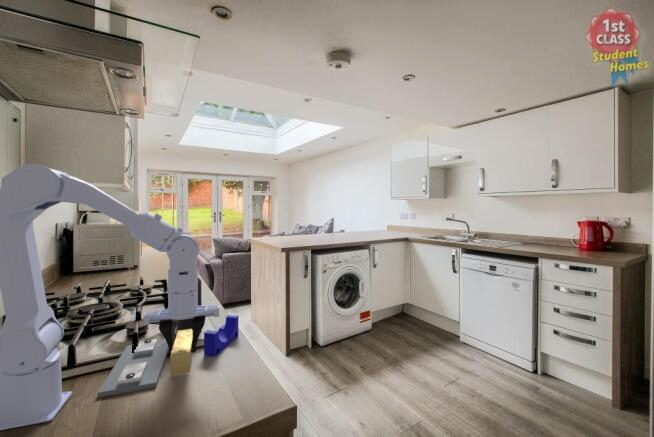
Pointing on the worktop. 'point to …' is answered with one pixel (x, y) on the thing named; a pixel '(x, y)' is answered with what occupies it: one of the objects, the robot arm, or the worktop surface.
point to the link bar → (181, 353)
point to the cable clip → (220, 336)
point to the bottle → (187, 323)
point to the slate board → (127, 358)
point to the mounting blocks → (137, 371)
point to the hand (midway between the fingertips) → (183, 351)
